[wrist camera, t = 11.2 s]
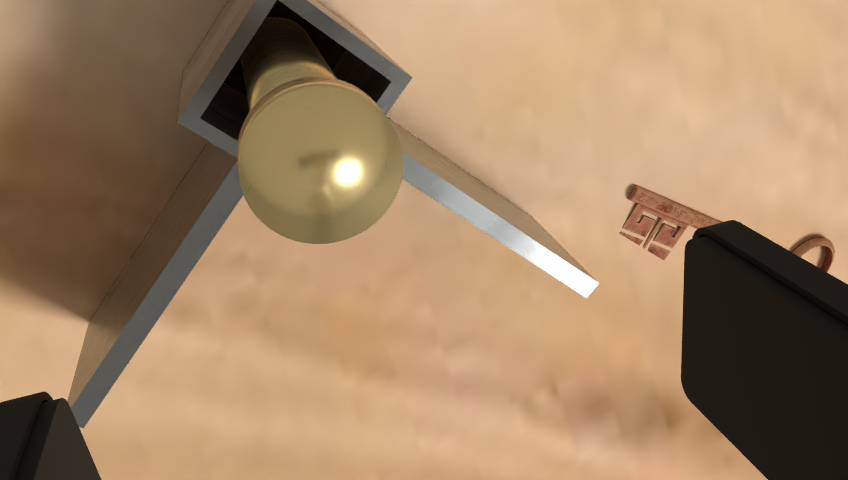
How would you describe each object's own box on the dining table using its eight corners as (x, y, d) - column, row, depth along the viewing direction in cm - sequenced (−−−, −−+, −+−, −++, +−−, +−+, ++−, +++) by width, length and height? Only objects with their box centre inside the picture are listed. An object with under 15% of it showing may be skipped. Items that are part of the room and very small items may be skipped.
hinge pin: (291, 120, 31) (343, 269, 19) (207, 67, 29) (206, 194, 17) (344, 42, 30) (434, 146, 18) (261, -18, 29) (300, 54, 16)
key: (589, 248, 39) (779, 320, 45) (596, 257, 38) (788, 329, 44) (649, 155, 37) (839, 243, 43) (658, 162, 36) (851, 251, 42)
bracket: (359, 437, 39) (390, 545, 33) (37, 299, 32) (-6, 406, 25) (561, 180, 36) (640, 245, 29) (257, -45, 28) (272, -26, 22)
